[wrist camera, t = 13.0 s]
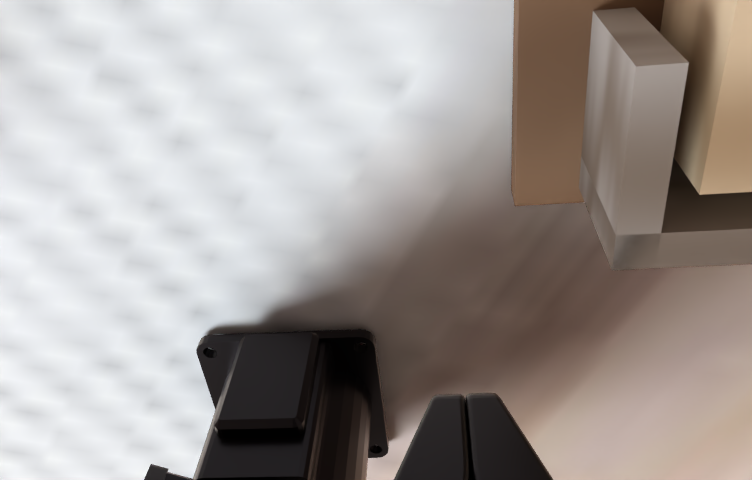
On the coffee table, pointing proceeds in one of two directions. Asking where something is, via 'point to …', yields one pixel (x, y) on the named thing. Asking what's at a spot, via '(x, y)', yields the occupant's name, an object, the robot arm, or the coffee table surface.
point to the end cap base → (614, 134)
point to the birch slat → (714, 91)
